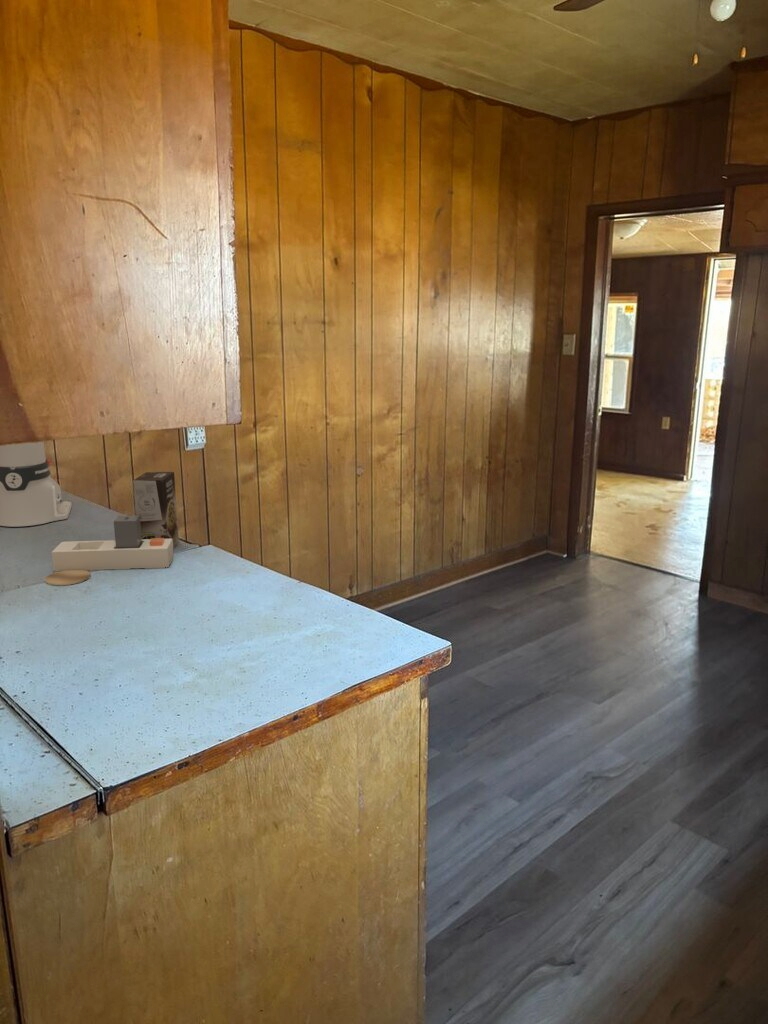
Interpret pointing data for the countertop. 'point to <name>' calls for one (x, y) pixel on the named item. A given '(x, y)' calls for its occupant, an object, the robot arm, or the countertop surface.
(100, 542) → the power strip
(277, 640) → the countertop surface
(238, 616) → the countertop surface
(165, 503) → the coffee box
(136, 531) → the block
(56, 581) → the coaster
